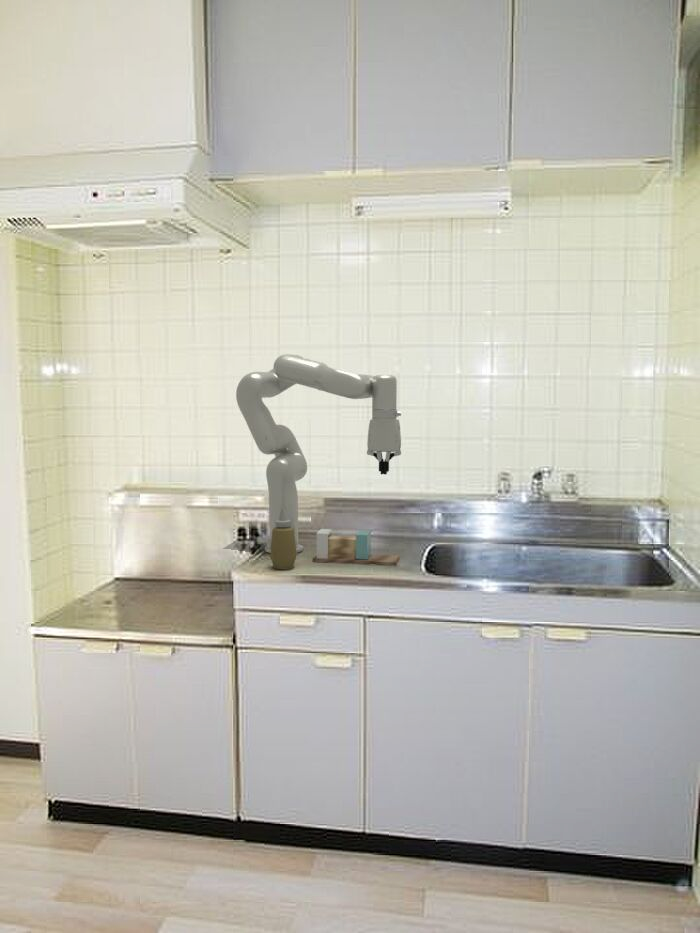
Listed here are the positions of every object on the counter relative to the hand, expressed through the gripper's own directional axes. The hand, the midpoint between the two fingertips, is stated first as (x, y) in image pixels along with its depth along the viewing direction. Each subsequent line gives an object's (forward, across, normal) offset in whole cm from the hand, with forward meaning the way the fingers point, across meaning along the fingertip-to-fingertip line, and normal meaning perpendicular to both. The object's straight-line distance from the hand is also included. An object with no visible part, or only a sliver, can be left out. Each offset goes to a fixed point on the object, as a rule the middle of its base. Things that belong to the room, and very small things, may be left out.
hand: (383, 473), depth 232 cm
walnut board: (+27, +8, +4) cm, 29 cm away
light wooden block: (+26, +12, +4) cm, 29 cm away
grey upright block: (+27, +18, +4) cm, 33 cm away
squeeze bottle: (+27, +28, +17) cm, 43 cm away
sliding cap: (+26, +6, +4) cm, 27 cm away
